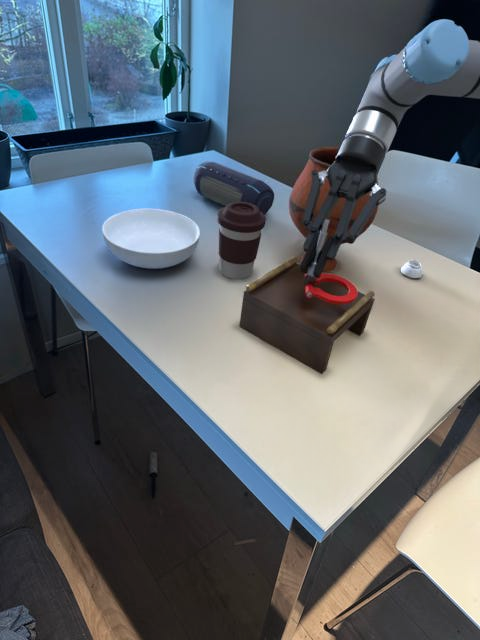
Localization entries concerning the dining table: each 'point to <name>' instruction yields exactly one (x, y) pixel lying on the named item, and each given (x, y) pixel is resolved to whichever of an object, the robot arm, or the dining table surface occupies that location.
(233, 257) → the coffee cup
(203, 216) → the dining table surface
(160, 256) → the serving bowl
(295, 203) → the goblet
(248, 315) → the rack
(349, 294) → the tow hook
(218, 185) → the portable speaker
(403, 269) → the white jar
